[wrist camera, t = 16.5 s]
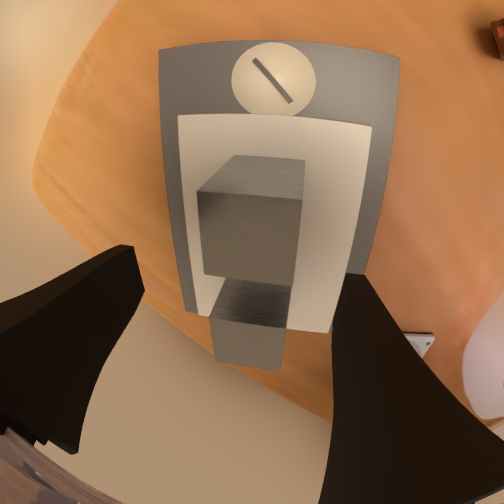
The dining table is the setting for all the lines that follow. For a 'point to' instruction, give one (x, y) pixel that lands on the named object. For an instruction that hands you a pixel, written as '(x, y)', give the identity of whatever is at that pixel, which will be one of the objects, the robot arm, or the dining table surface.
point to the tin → (499, 35)
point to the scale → (281, 152)
